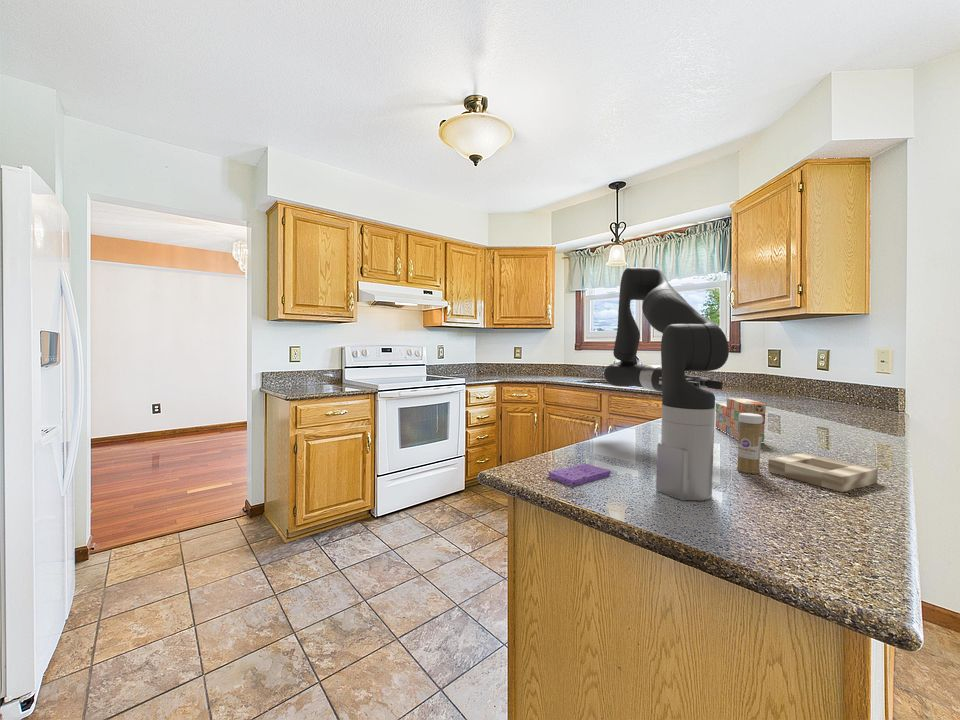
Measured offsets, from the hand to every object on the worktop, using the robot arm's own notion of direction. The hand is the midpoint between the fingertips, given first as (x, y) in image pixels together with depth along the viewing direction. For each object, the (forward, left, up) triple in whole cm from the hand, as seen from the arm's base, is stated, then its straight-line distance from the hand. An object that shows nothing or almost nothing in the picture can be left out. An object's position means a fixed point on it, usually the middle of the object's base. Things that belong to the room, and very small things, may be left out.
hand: (710, 386), depth 103 cm
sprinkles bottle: (0, -11, -19) cm, 22 cm away
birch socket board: (+11, -20, -19) cm, 29 cm away
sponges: (-40, +1, -20) cm, 44 cm away
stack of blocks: (+36, +16, -19) cm, 43 cm away
